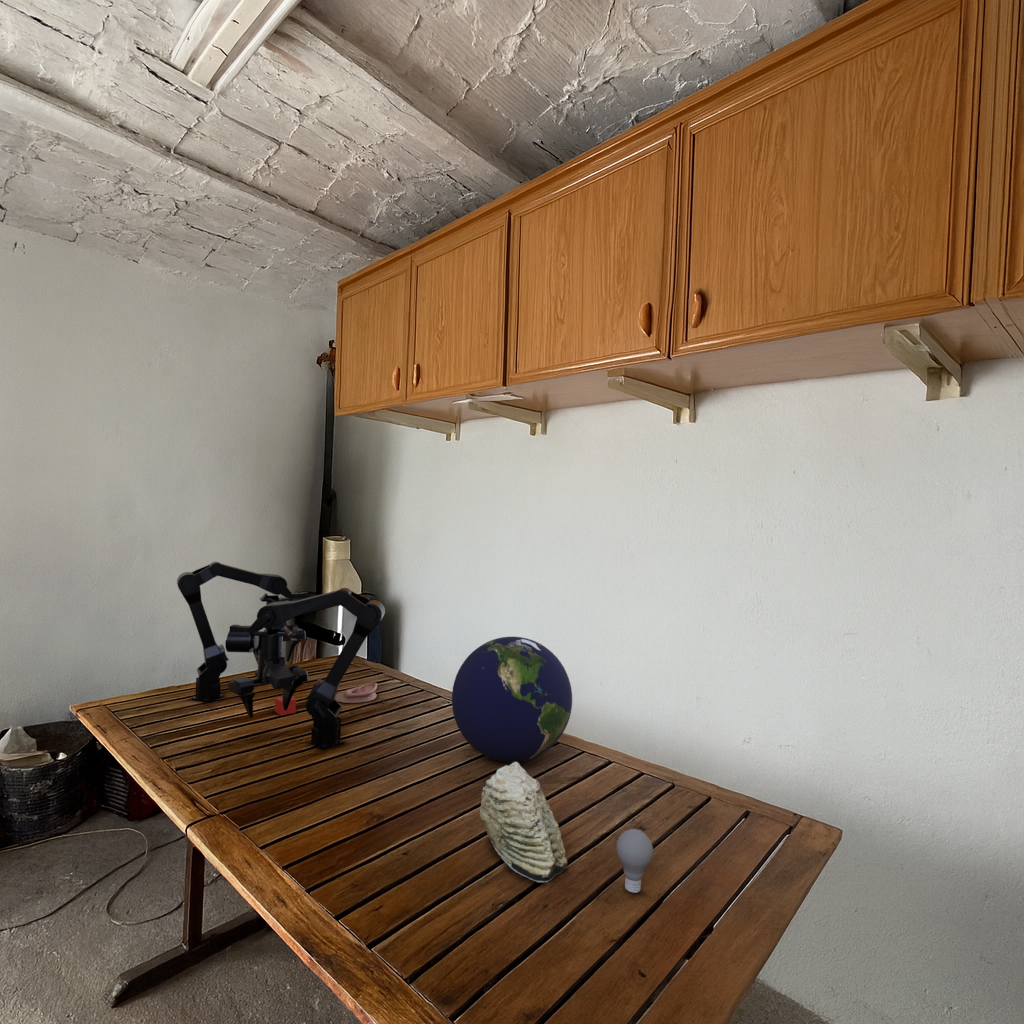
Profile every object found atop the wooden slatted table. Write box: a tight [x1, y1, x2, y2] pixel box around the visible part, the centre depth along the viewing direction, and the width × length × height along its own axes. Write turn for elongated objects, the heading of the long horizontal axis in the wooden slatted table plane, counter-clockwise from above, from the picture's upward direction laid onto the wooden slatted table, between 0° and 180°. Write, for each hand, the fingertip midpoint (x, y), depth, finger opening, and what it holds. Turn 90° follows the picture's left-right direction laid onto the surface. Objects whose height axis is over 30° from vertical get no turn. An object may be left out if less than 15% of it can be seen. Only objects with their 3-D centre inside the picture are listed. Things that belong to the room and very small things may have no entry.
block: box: [274, 696, 297, 716], centre depth 184 cm, size 4×4×4 cm
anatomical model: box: [335, 682, 378, 704], centre depth 199 cm, size 13×4×12 cm
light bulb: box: [615, 828, 654, 894], centre depth 106 cm, size 6×6×10 cm
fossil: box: [479, 762, 569, 883], centre depth 114 cm, size 9×18×15 cm, turn 46°
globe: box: [451, 636, 573, 763], centre depth 158 cm, size 30×30×30 cm
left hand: (273, 663), depth 202 cm, fingers open, 9 cm apart
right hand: (268, 713), depth 161 cm, fingers open, 9 cm apart
